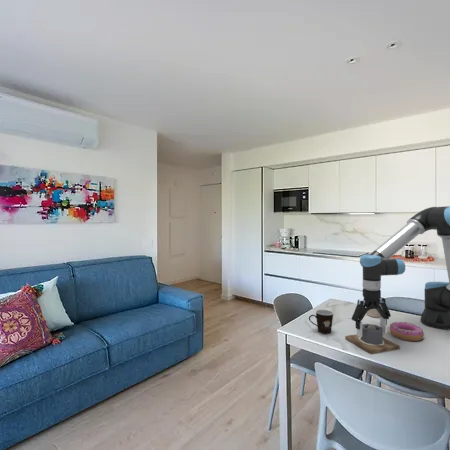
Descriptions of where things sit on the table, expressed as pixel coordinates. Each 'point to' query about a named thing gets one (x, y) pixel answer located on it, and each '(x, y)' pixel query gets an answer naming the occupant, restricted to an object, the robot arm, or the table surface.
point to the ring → (372, 334)
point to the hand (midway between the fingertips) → (371, 333)
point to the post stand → (372, 348)
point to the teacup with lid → (374, 313)
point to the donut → (406, 331)
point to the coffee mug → (323, 321)
